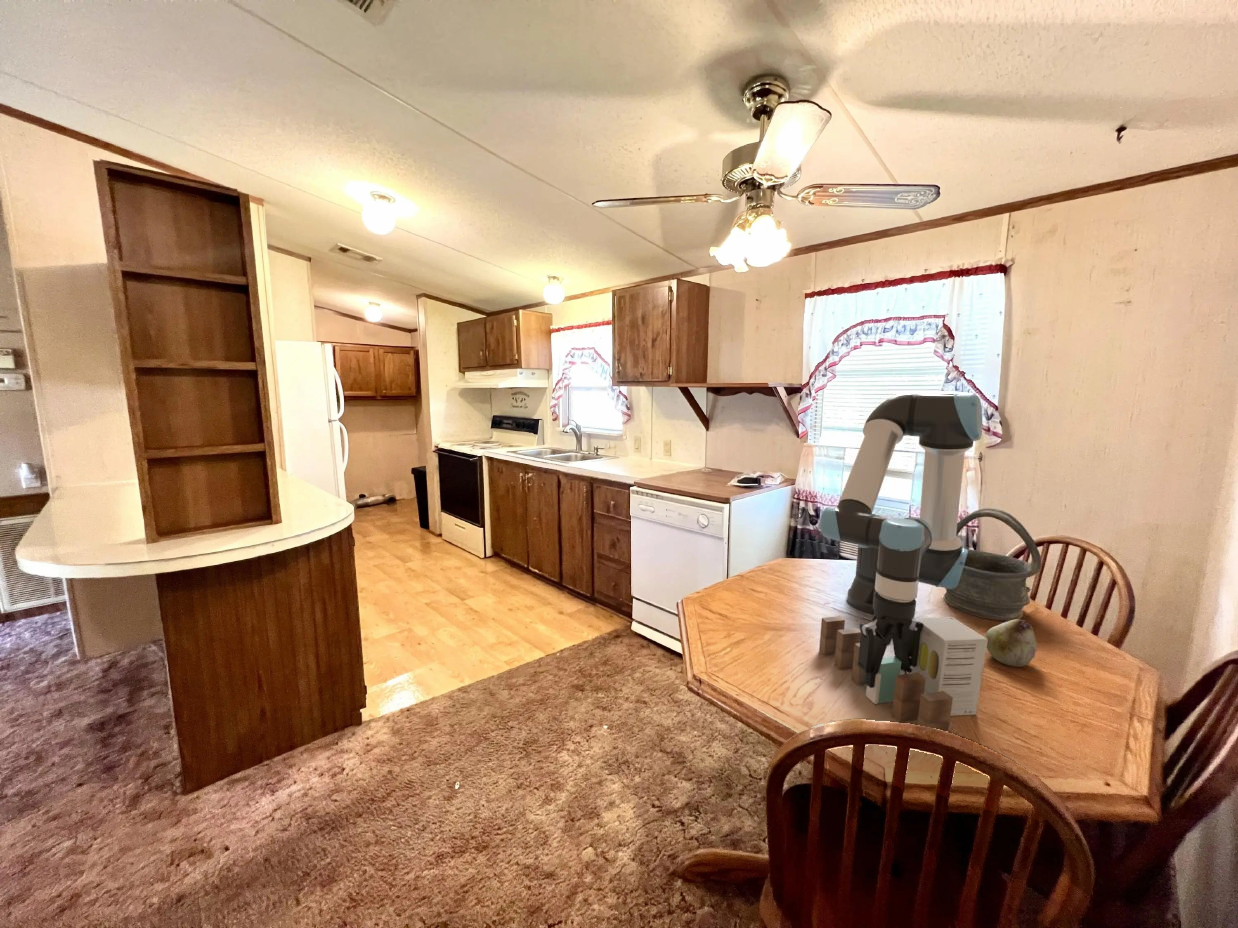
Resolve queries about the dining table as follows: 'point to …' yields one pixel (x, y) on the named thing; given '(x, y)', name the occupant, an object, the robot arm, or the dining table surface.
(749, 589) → the dining table surface
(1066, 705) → the dining table surface
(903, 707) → the domino
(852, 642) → the domino
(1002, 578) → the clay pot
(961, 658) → the supplement box
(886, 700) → the teal domino
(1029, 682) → the dining table surface
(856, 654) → the domino
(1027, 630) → the fruit
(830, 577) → the dining table surface
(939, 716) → the domino
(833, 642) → the domino
